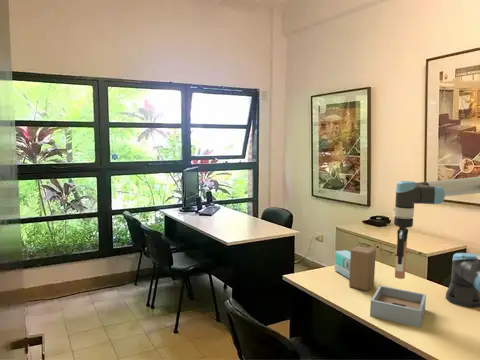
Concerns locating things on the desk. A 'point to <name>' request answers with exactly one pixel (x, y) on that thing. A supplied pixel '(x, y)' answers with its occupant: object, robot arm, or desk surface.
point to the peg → (399, 273)
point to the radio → (343, 262)
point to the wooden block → (362, 268)
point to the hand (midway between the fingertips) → (400, 269)
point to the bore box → (398, 306)
